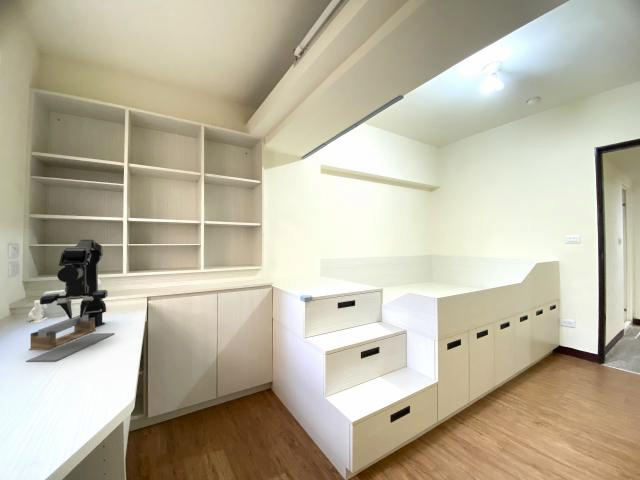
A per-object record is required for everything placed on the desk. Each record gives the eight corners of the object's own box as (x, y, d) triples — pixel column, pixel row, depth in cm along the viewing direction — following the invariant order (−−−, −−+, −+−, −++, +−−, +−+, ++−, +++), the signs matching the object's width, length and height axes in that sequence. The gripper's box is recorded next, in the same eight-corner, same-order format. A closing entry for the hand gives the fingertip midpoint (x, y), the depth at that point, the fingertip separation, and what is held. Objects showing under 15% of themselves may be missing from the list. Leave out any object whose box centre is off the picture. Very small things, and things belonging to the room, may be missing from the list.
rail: (81, 320, 117) (81, 314, 117) (88, 320, 118) (88, 313, 118) (38, 337, 96) (38, 330, 96) (46, 337, 97) (46, 329, 97)
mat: (114, 334, 113) (114, 333, 113) (56, 361, 87) (56, 360, 87) (91, 334, 113) (91, 333, 113) (26, 362, 87) (26, 360, 87)
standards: (80, 331, 117) (80, 317, 118) (95, 330, 118) (95, 317, 118) (28, 351, 96) (28, 334, 96) (48, 350, 96) (48, 333, 96)
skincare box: (66, 314, 145) (66, 289, 145) (65, 317, 140) (65, 290, 140) (45, 317, 139) (45, 291, 140) (43, 320, 135) (43, 292, 135)
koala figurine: (45, 323, 130) (45, 300, 130) (25, 326, 125) (25, 302, 126) (48, 319, 136) (48, 297, 136) (30, 322, 132) (30, 299, 132)
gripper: (109, 275, 112) (109, 310, 112) (50, 278, 102) (50, 317, 102) (105, 278, 103) (105, 316, 102) (39, 282, 93) (39, 324, 92)
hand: (76, 318), depth 100 cm, fingers open, 3 cm apart
